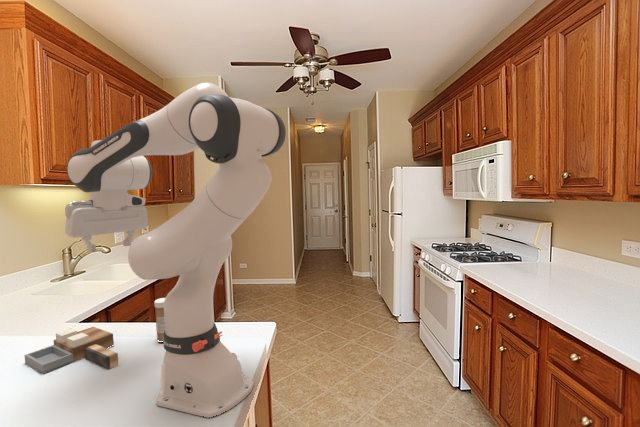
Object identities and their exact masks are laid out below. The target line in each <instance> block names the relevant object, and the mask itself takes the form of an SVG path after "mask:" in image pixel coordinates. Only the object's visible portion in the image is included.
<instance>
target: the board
mask: <svg viewBox="0 0 640 427" xmlns="http://www.w3.org/2000/svg"><path fill="white" fill-rule="evenodd" d="M80 333H84V334H87V335H89V342H87V343H85V344H82V345H79V346H77V347H71V346H69V345H67V341H65V342H60V341H58V340H56V338H55V339H53V345H55V346H57V347H60V348H62V349H64V350H66V351H68V352H70V353H72V354H73V361H74V362H73V363H76V362H78V361H81V360H83V359H85V351H84V348H86V347H89V346H92V345H94V344H97V345H99V346H102V347H104V348H108V347H110V346H112V345H114V346H115V343H114V342H115V341H114V333H113V332H109V331H107V330H104V329H102V328H98V327H95V326H91V327H89V328H86V329H82V330H80V331H77V334H80ZM108 349H109V348H108Z"/></svg>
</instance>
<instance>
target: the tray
mask: <svg viewBox="0 0 640 427" xmlns="http://www.w3.org/2000/svg"><path fill="white" fill-rule="evenodd" d="M72 363H75V362H74V361H73V354H72V353H70V352H68V351H66V350H64V349H62V348H60V347H57V346H55V345H54V344H52V345H50V346H47V347H45V348H41V349H38V350H35V351H33V352H30V353H26V354H24V364H25V365H27V366H28V367H31V368H32V369H34V370H35V371H37V372H39V373H41V374H42V375H45V374H48V373H50V372H53V371H55V370H57V369H60V368H63V367H66V366H68V365H70V364H72Z"/></svg>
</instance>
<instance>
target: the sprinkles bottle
mask: <svg viewBox="0 0 640 427" xmlns="http://www.w3.org/2000/svg"><path fill="white" fill-rule="evenodd" d="M165 298H166V297H161V298H157V299H155V300H154V302H153V304H154V308H155V327H156V328H155V329H156V338H157V339H156V341H157V340H159V341H163V337H164V331H165V320H164V300H165Z"/></svg>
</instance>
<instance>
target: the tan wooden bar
mask: <svg viewBox="0 0 640 427" xmlns="http://www.w3.org/2000/svg"><path fill="white" fill-rule="evenodd" d="M84 351H85V358H84V360H86V361H87V362H90V363H92V364H94V365H95V366H98V365H99V367H101V368H103V369H105V370H110V369H112V368H115V367H116V366H118V364H119V353H118V352H116V351H114V350H111V349H110V348H108V349H107V348H104V347H102V346H99V345H97V344H94V345H92V346H89V347H86V348H84ZM119 365H120V364H119Z"/></svg>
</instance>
